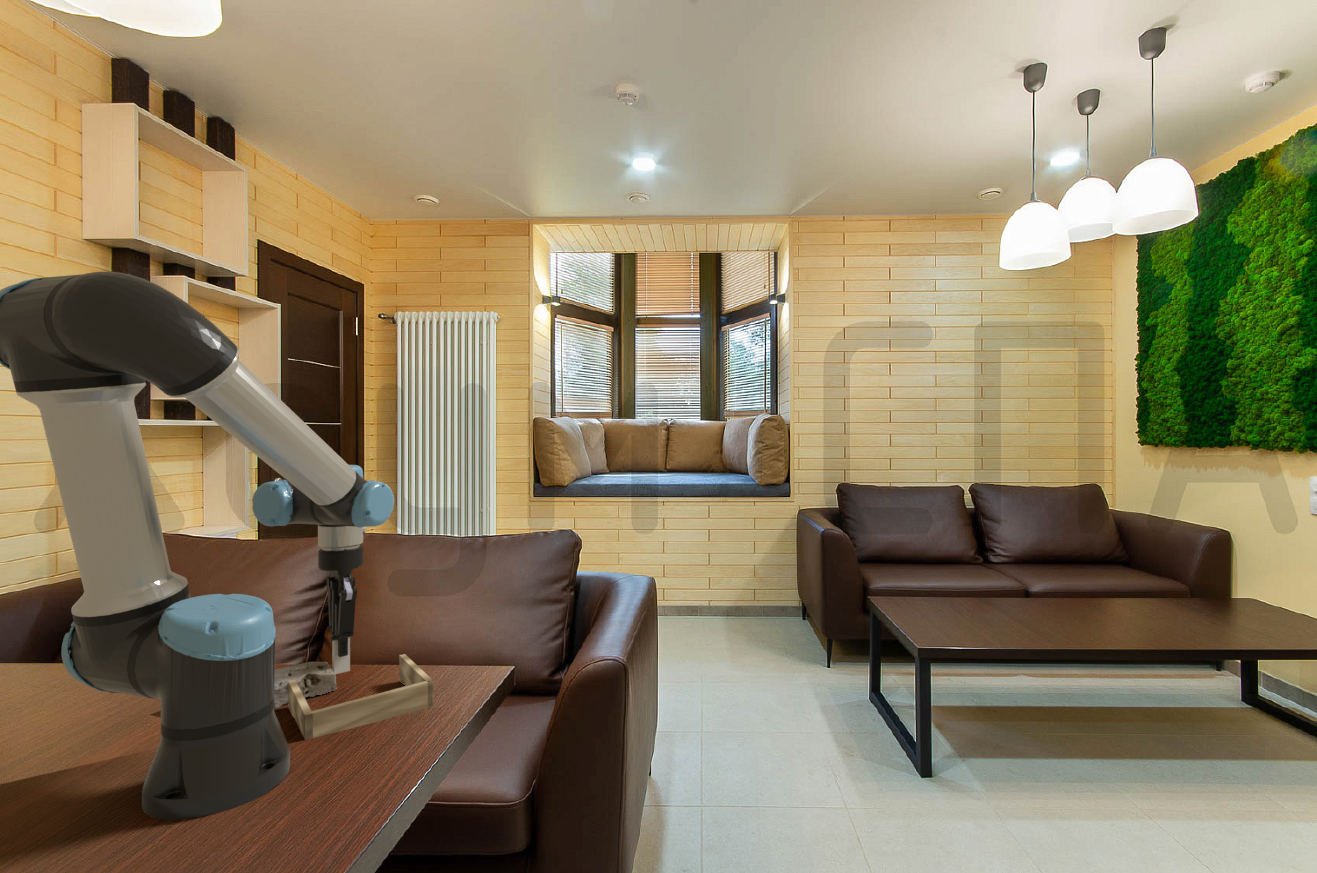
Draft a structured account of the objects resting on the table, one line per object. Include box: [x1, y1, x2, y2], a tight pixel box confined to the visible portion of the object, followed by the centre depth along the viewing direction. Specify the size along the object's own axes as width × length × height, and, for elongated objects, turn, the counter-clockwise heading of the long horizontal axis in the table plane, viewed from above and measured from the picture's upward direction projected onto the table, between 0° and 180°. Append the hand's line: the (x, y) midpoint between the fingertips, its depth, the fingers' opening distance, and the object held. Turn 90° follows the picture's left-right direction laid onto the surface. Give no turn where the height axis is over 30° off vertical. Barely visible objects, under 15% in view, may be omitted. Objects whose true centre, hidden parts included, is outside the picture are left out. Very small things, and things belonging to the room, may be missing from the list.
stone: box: [274, 661, 338, 709], centre depth 105 cm, size 13×6×10 cm
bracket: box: [287, 653, 435, 741], centre depth 99 cm, size 16×19×5 cm
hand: (341, 671), depth 110 cm, fingers closed, pressing on stone
